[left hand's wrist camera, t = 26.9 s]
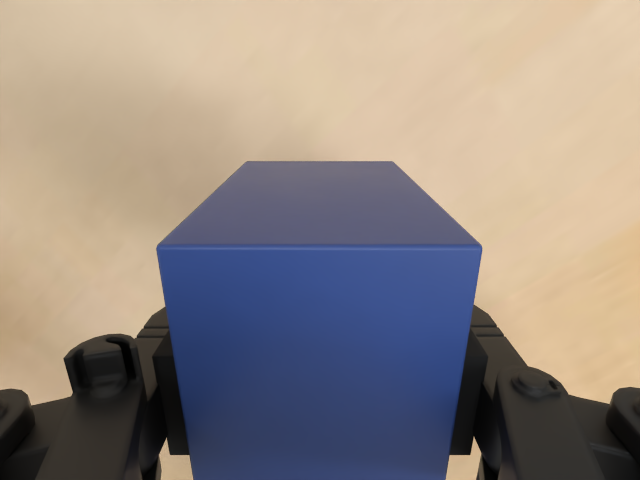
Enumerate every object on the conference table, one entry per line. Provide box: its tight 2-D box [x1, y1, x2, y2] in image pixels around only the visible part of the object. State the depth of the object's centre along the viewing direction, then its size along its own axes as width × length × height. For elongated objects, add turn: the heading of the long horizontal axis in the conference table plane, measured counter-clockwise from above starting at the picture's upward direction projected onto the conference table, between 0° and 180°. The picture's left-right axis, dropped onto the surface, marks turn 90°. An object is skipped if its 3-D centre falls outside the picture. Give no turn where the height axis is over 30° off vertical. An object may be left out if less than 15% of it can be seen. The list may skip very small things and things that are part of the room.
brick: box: [156, 161, 482, 480], centre depth 12 cm, size 5×8×8 cm, turn 0°
